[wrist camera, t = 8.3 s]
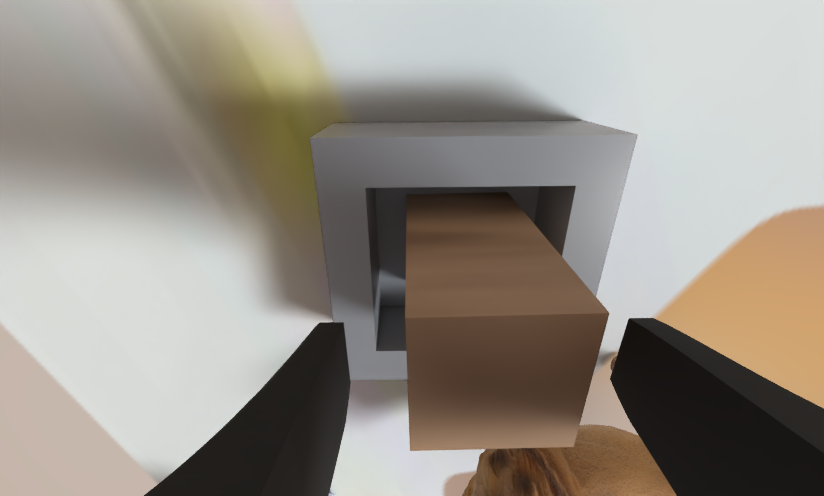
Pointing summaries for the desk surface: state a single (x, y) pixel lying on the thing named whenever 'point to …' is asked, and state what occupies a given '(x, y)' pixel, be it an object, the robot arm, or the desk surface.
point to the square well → (452, 173)
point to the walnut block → (493, 328)
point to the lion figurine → (573, 468)
